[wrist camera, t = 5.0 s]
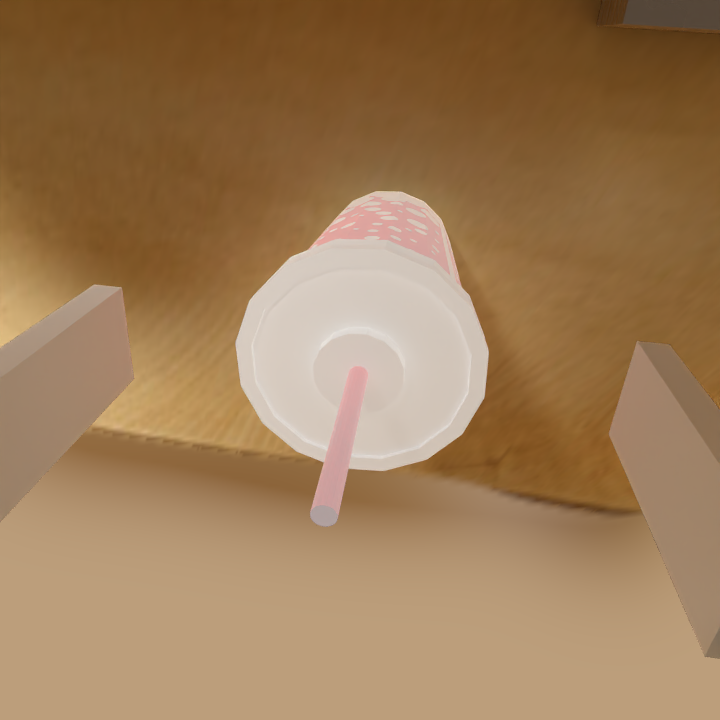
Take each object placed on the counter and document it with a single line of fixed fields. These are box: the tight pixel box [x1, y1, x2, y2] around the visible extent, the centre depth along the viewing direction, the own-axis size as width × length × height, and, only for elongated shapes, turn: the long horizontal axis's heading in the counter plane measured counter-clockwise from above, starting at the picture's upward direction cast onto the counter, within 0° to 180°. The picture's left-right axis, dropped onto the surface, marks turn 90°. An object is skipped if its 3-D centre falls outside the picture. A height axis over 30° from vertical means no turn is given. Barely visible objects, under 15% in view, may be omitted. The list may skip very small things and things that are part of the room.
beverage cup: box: [235, 191, 489, 527], centre depth 16 cm, size 6×6×14 cm
